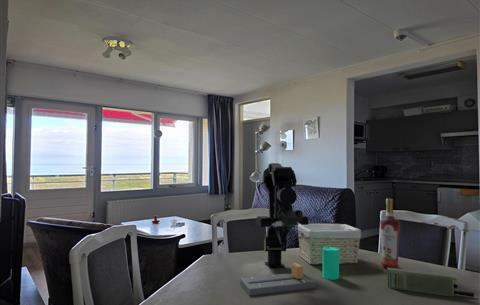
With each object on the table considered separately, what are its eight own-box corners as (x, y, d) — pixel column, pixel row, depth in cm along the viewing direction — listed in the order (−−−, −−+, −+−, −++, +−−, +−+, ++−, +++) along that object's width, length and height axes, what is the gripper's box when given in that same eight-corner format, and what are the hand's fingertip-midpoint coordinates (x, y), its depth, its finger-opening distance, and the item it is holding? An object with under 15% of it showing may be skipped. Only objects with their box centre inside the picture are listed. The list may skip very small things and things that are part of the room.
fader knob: (291, 274, 113) (291, 262, 113) (297, 274, 114) (297, 262, 114) (296, 278, 109) (296, 266, 110) (303, 278, 110) (303, 265, 110)
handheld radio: (387, 285, 112) (472, 296, 103) (388, 289, 109) (475, 301, 100) (387, 266, 112) (472, 275, 103) (387, 269, 109) (475, 279, 100)
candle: (339, 280, 116) (339, 246, 116) (322, 278, 117) (322, 245, 117) (338, 274, 121) (338, 242, 122) (322, 273, 123) (322, 242, 123)
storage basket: (344, 254, 150) (344, 222, 151) (363, 264, 134) (362, 229, 135) (296, 255, 147) (296, 223, 147) (308, 266, 131) (308, 230, 131)
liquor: (379, 268, 130) (378, 199, 131) (381, 263, 136) (381, 197, 137) (399, 271, 126) (398, 200, 127) (400, 266, 132) (400, 198, 133)
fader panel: (239, 284, 111) (239, 277, 111) (301, 277, 118) (301, 271, 118) (249, 295, 101) (249, 288, 101) (316, 287, 108) (316, 281, 108)
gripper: (267, 205, 105) (266, 252, 105) (316, 203, 111) (316, 248, 111) (255, 200, 116) (255, 243, 116) (301, 199, 122) (301, 240, 121)
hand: (282, 244), depth 116 cm, fingers closed
